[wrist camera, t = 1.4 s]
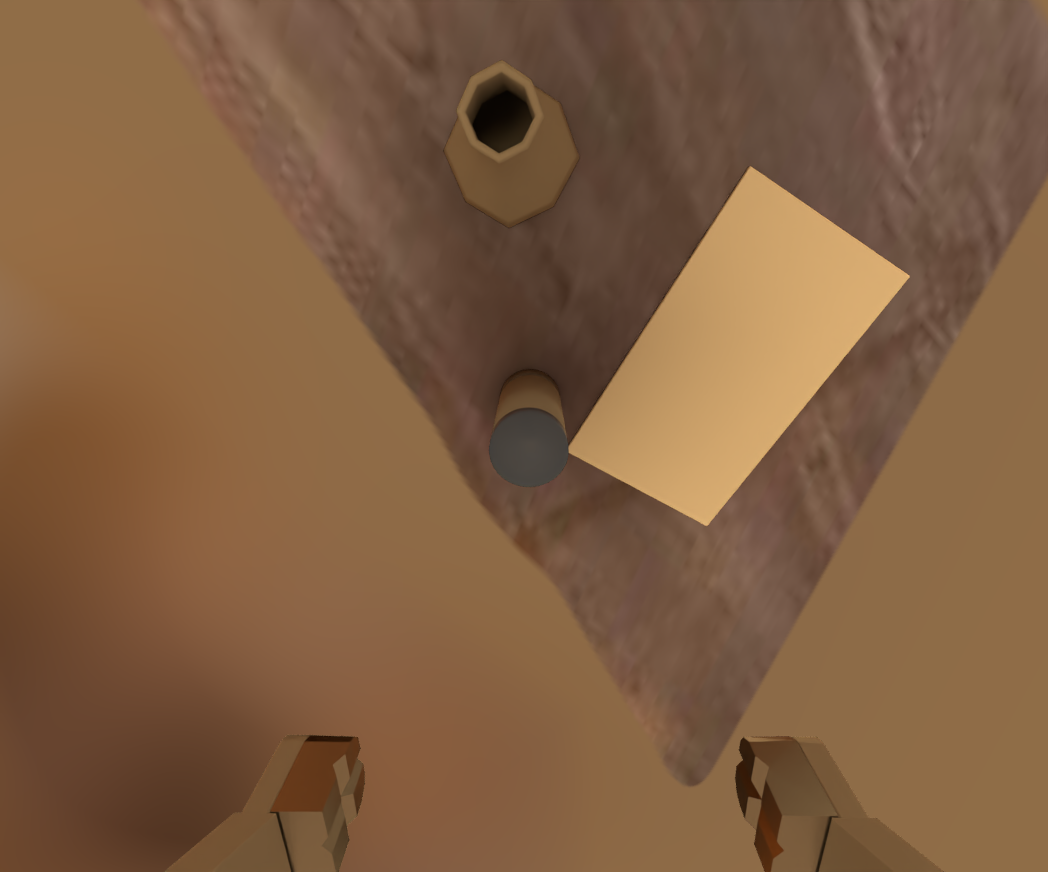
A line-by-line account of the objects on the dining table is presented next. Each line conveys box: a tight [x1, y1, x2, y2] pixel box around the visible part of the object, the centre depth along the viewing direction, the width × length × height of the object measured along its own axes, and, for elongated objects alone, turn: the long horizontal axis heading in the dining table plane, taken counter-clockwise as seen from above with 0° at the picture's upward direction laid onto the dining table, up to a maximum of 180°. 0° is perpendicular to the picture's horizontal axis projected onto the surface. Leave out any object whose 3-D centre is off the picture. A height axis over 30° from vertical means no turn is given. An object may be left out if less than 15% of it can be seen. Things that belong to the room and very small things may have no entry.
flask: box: [443, 60, 580, 228], centre depth 24 cm, size 7×7×10 cm
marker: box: [489, 369, 569, 487], centre depth 29 cm, size 4×4×9 cm
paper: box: [568, 166, 910, 526], centre depth 32 cm, size 20×12×1 cm, turn 151°
